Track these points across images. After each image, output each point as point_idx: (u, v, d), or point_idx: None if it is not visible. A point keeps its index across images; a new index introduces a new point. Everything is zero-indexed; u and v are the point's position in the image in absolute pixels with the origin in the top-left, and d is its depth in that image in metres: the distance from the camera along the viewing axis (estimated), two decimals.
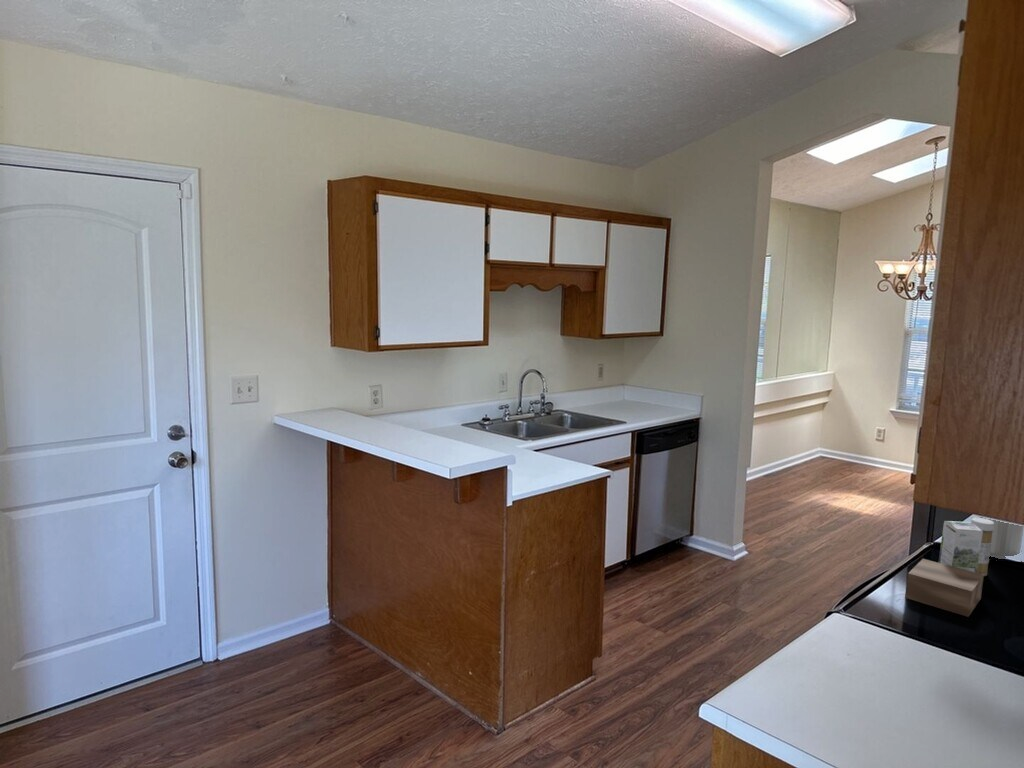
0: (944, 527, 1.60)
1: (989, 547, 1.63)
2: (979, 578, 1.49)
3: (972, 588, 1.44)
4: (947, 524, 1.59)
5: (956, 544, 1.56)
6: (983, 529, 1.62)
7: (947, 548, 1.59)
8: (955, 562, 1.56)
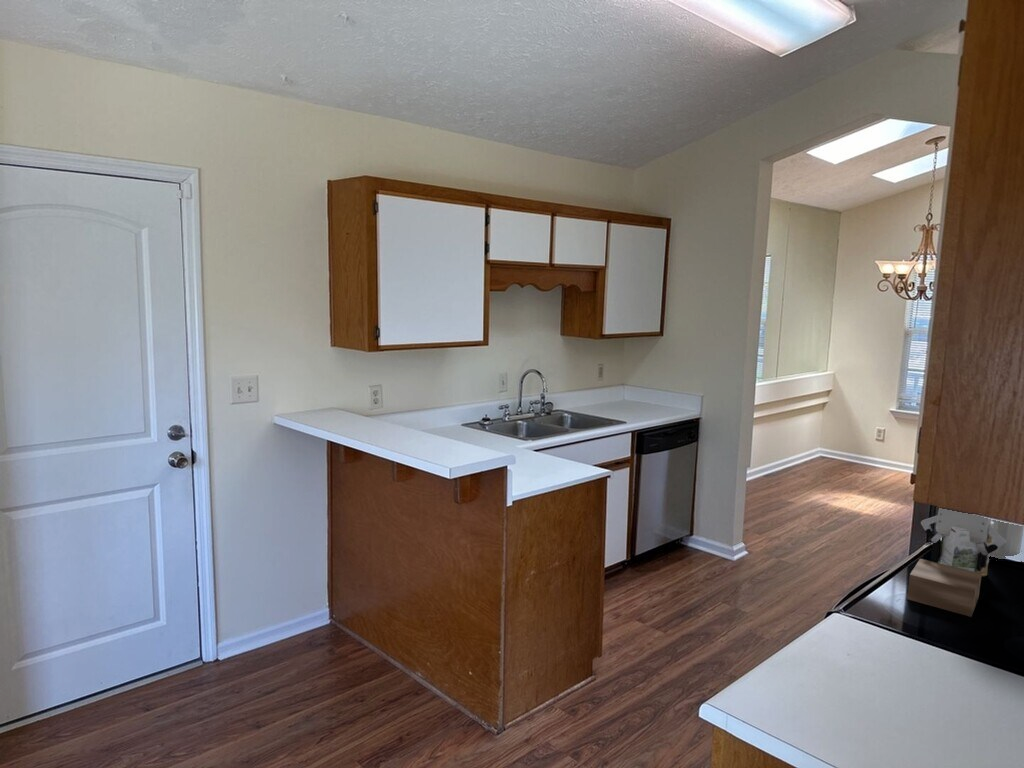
0: None
1: None
2: (978, 577, 1.50)
3: (974, 588, 1.44)
4: None
5: (956, 544, 1.56)
6: None
7: (947, 548, 1.59)
8: (955, 562, 1.56)
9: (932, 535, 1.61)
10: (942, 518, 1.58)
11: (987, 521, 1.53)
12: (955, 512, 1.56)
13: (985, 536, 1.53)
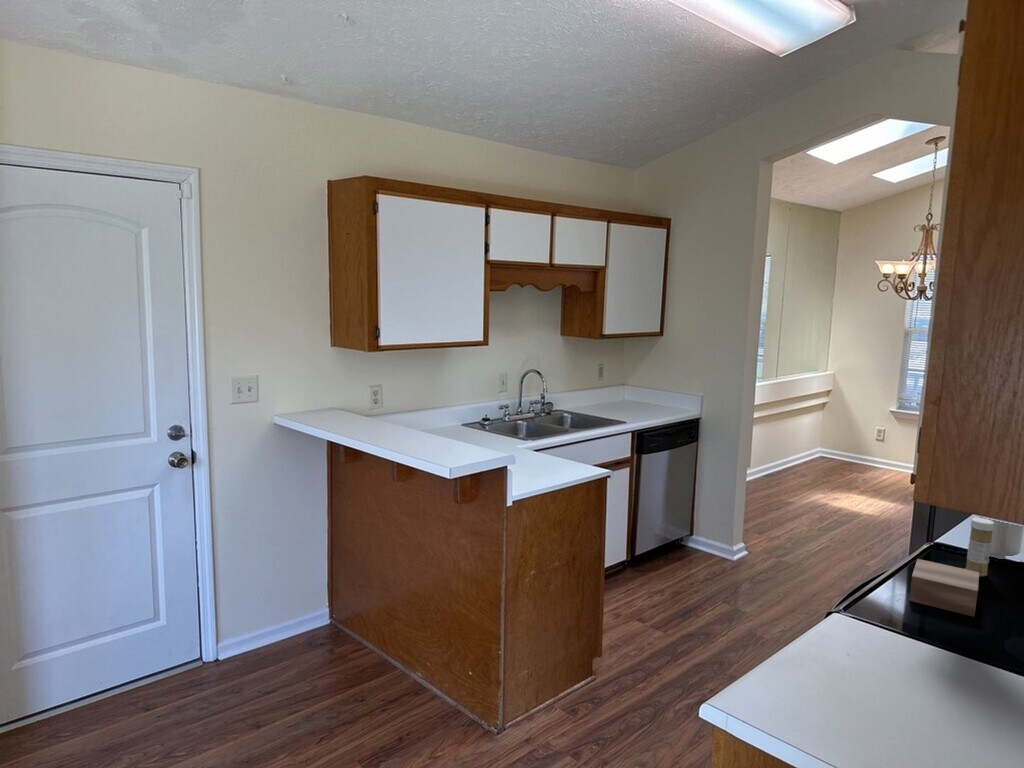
0: None
1: (989, 547, 1.63)
2: (977, 576, 1.50)
3: (976, 588, 1.44)
4: None
5: None
6: (983, 529, 1.62)
7: None
8: None
9: None
10: None
11: None
12: None
13: None
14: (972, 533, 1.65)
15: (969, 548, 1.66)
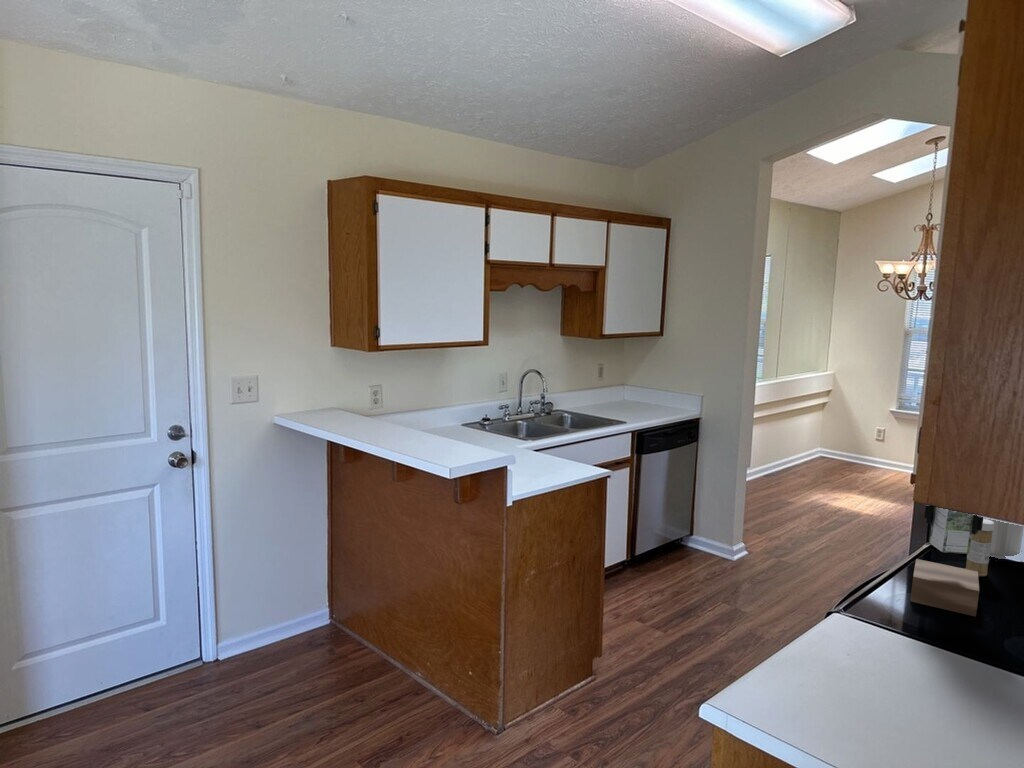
0: None
1: (989, 547, 1.63)
2: (976, 575, 1.51)
3: (977, 587, 1.44)
4: None
5: None
6: (983, 529, 1.62)
7: (940, 511, 1.49)
8: (948, 525, 1.47)
9: None
10: None
11: None
12: None
13: None
14: None
15: None
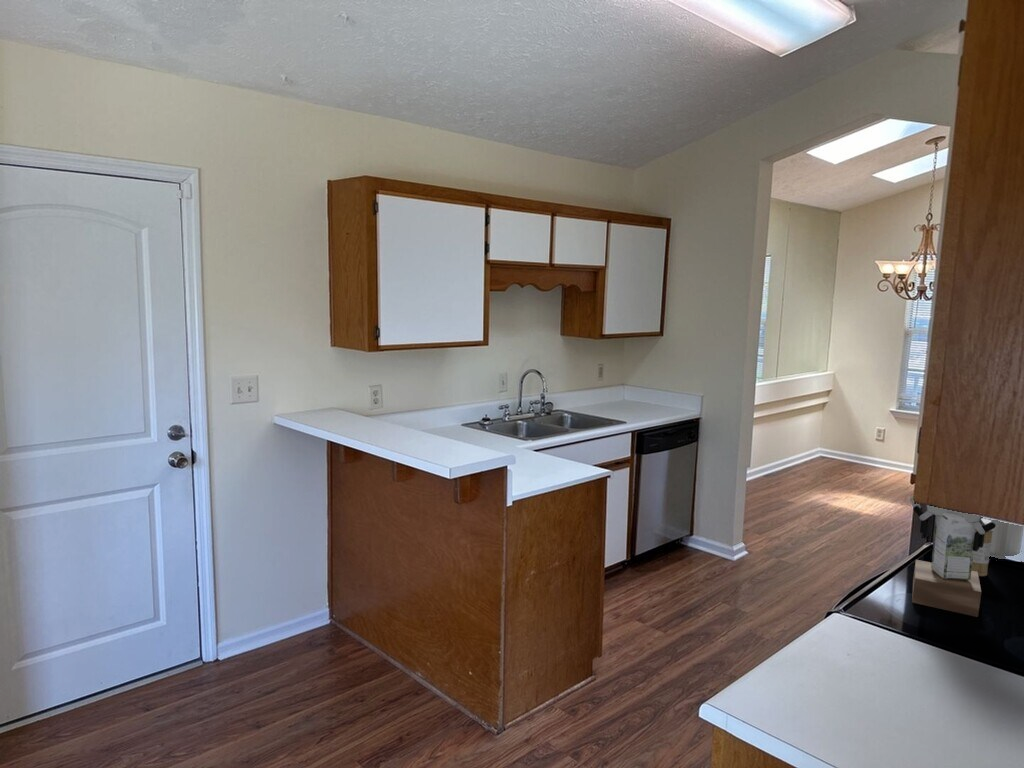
0: (936, 515, 1.51)
1: (989, 547, 1.63)
2: (976, 576, 1.50)
3: (979, 588, 1.44)
4: None
5: (949, 532, 1.47)
6: None
7: (940, 537, 1.50)
8: (948, 551, 1.47)
9: (920, 512, 1.53)
10: None
11: None
12: None
13: None
14: None
15: None
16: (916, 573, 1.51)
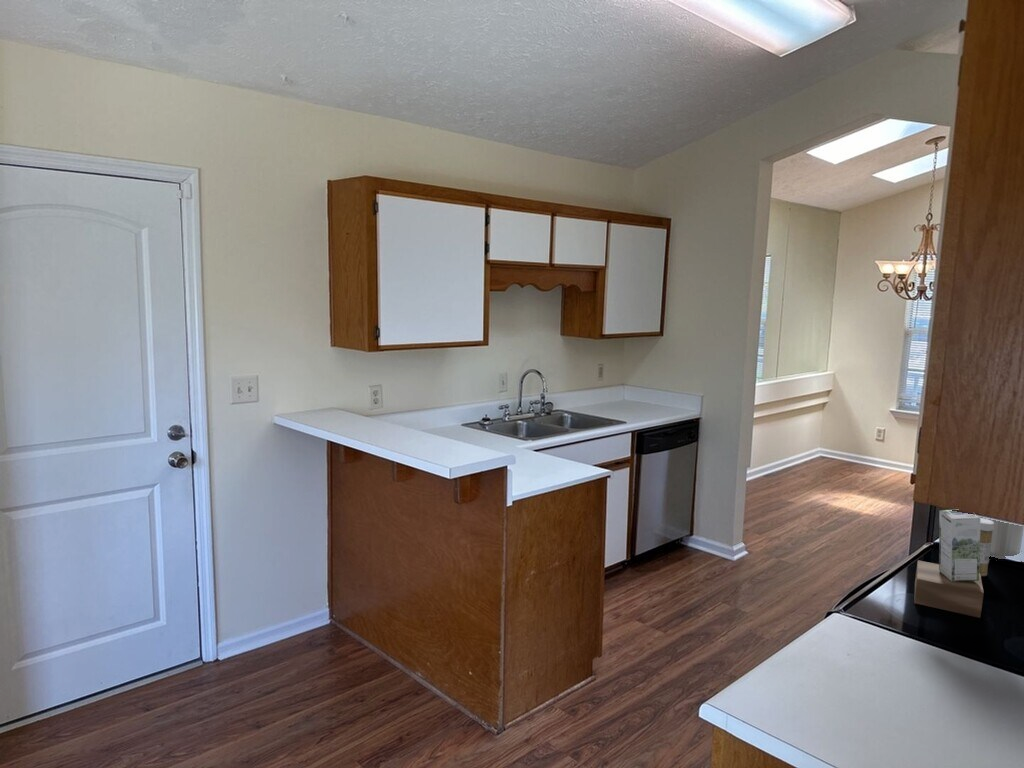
0: (940, 517, 1.50)
1: (989, 547, 1.63)
2: (979, 577, 1.50)
3: (981, 589, 1.44)
4: (942, 514, 1.49)
5: (954, 535, 1.46)
6: (983, 529, 1.62)
7: (945, 539, 1.48)
8: (954, 554, 1.46)
9: None
10: None
11: None
12: None
13: None
14: None
15: None
16: (918, 574, 1.51)
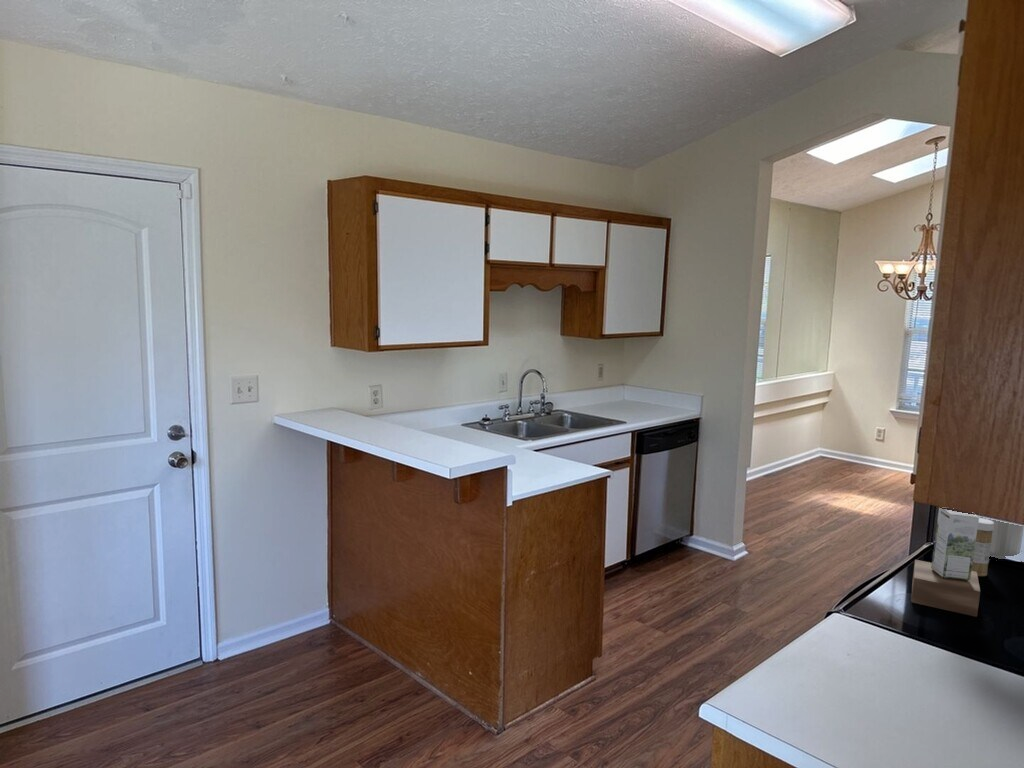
0: (939, 514, 1.52)
1: (989, 547, 1.63)
2: (976, 576, 1.51)
3: (978, 588, 1.44)
4: (942, 510, 1.51)
5: (950, 531, 1.47)
6: (983, 529, 1.62)
7: (941, 536, 1.50)
8: (949, 550, 1.47)
9: None
10: None
11: None
12: None
13: None
14: None
15: None
16: (915, 573, 1.51)
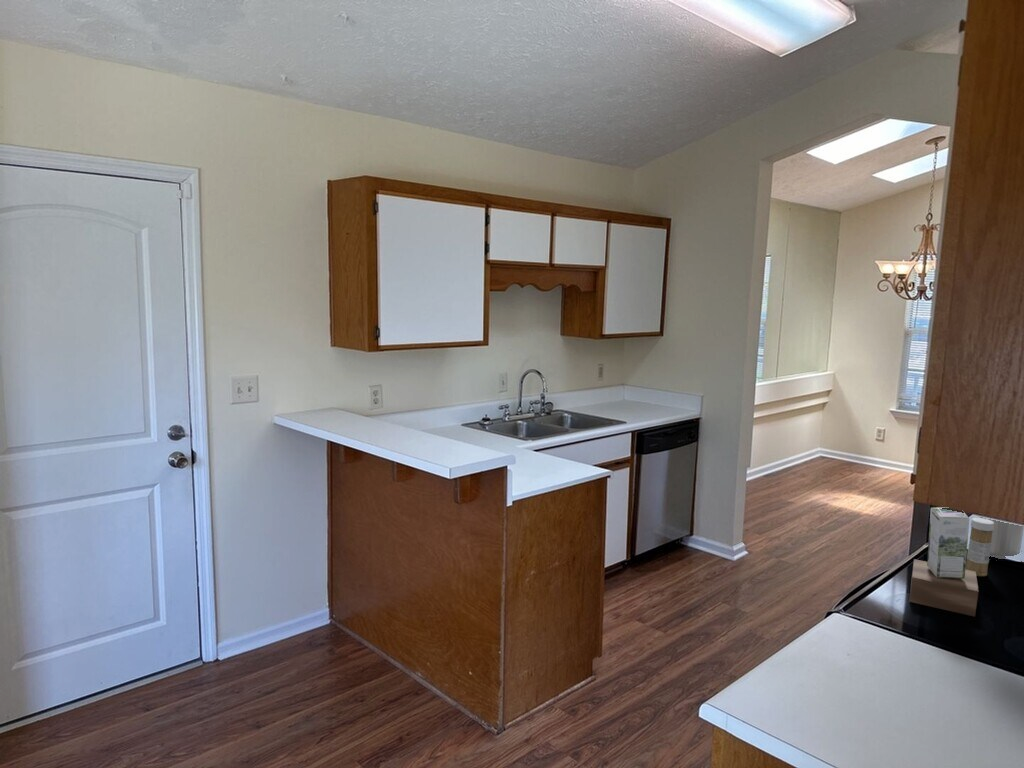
0: (931, 514, 1.51)
1: (989, 547, 1.63)
2: (974, 576, 1.51)
3: (976, 588, 1.45)
4: (933, 511, 1.50)
5: (941, 533, 1.47)
6: (983, 529, 1.62)
7: (933, 536, 1.50)
8: (941, 551, 1.48)
9: None
10: None
11: None
12: None
13: None
14: (972, 533, 1.65)
15: (969, 548, 1.66)
16: (914, 572, 1.52)
